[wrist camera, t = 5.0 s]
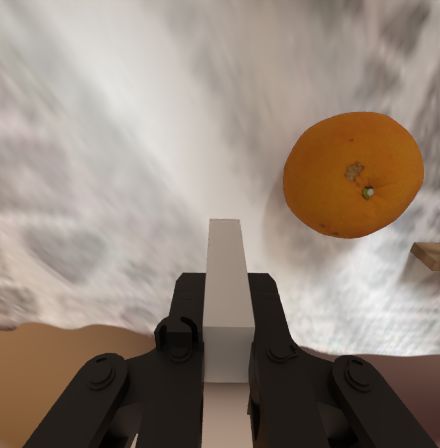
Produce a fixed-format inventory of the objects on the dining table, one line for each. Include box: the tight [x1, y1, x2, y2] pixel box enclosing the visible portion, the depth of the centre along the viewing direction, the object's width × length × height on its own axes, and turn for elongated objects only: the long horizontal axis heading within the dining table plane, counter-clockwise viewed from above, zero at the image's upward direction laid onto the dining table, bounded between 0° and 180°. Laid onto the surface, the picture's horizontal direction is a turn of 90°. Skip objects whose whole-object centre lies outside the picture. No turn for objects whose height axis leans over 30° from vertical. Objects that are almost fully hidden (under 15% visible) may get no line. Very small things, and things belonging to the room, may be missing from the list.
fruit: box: [283, 112, 424, 239], centre depth 22 cm, size 10×10×8 cm
